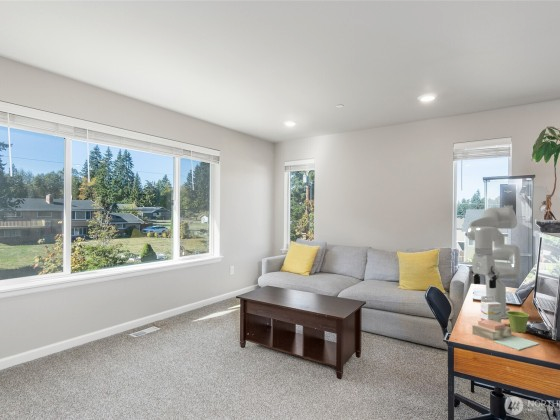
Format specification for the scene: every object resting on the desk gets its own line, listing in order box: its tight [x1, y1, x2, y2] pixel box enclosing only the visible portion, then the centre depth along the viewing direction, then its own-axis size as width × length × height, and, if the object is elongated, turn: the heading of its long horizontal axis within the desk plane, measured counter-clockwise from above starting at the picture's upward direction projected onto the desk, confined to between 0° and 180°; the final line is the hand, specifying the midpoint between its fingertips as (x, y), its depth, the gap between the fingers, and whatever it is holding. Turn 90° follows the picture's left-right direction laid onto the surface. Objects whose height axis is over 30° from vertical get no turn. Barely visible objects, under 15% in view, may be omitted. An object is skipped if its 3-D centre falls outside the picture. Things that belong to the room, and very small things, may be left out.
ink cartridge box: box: [480, 295, 502, 323], centre depth 167 cm, size 9×5×15 cm, turn 102°
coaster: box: [477, 319, 506, 331], centre depth 152 cm, size 8×8×2 cm
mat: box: [492, 335, 540, 351], centre depth 142 cm, size 16×10×1 cm, turn 114°
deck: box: [471, 324, 513, 342], centre depth 152 cm, size 14×10×4 cm
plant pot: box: [506, 310, 530, 333], centre depth 157 cm, size 9×9×9 cm
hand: (484, 286), depth 155 cm, fingers open, 9 cm apart
